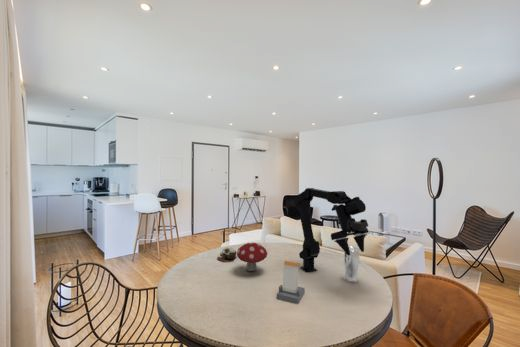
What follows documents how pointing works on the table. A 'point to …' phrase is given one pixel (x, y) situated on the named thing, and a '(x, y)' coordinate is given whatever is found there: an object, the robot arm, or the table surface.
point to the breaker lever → (290, 277)
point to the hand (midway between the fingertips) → (356, 253)
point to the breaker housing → (291, 295)
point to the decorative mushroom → (251, 254)
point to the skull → (227, 254)
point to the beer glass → (351, 265)
